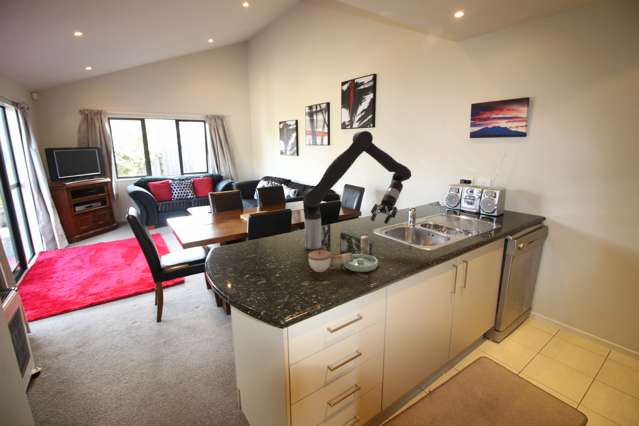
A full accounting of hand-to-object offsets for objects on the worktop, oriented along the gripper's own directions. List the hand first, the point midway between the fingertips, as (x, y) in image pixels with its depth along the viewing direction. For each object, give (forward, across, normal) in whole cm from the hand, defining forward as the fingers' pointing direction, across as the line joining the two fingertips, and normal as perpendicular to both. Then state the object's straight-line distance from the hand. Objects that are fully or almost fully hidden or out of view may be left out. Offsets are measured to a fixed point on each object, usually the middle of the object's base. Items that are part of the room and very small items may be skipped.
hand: (378, 221), depth 164 cm
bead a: (+20, 0, +3) cm, 20 cm away
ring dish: (+28, +6, -6) cm, 29 cm away
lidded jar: (+40, -5, -18) cm, 44 cm away
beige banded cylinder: (+28, +5, -13) cm, 31 cm away
